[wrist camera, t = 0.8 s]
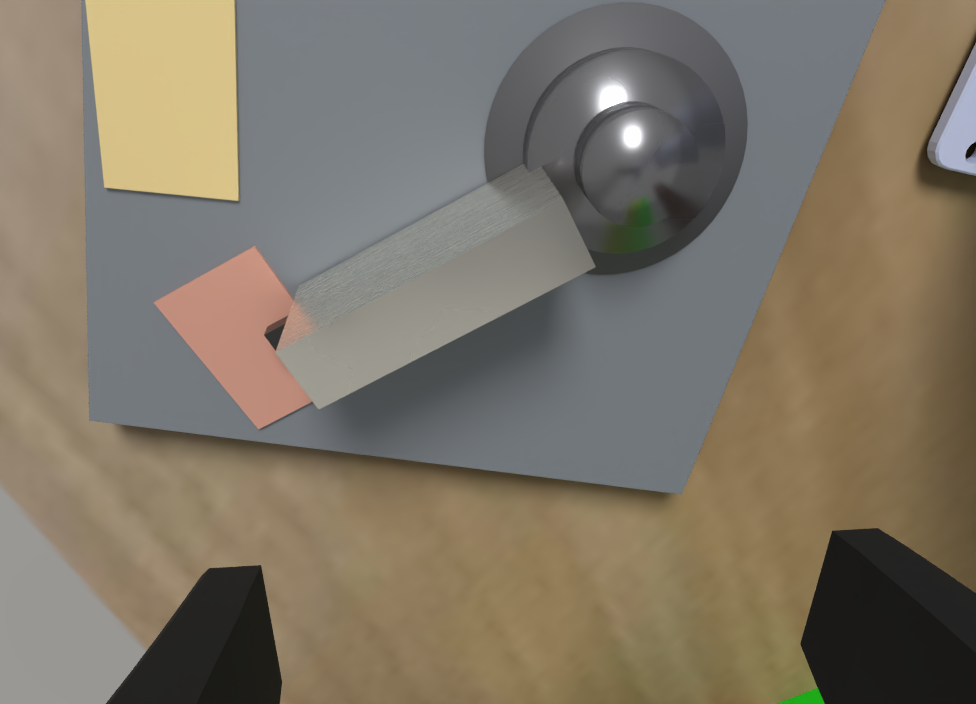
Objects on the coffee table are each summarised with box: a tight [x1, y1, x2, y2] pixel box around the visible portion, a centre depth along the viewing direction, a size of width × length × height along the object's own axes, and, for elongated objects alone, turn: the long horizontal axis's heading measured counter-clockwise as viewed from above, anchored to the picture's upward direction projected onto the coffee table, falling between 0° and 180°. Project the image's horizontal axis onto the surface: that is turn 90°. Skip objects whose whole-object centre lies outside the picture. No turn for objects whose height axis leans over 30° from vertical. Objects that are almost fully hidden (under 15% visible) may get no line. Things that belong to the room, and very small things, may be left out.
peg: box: [264, 47, 725, 409], centre depth 14 cm, size 10×4×3 cm, turn 118°
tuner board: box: [81, 0, 886, 494], centre depth 15 cm, size 15×18×1 cm
